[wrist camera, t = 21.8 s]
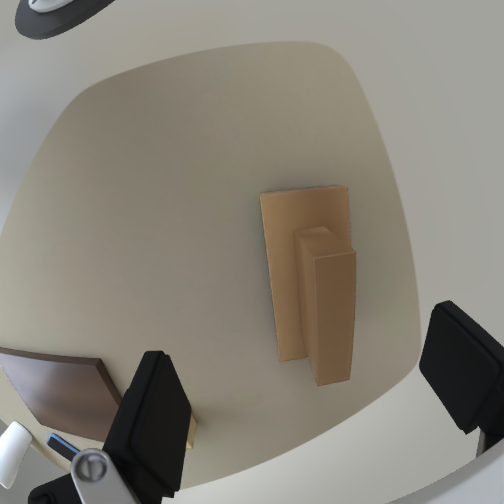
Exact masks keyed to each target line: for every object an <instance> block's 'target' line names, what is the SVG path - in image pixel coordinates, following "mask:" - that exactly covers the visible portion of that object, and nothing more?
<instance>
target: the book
mask: <svg viewBox="0 0 504 504" xmlns="http://www.w3.org/2000/svg"><path fill="white" fill-rule="evenodd" d="M0 365H1V367H2V369H3V371H4V372H5V374H6V376H7V377H8V379H9V381H10V382H11V384H12V385H13V387H14V388H15V390H16V391H17V393H18V394H19V396H20V397H21V399H22V400H23V402H24V403H25V405H26V406H27V407H28V409H29V410H30V411H31V413H32V414H33V415H34V417H35V418H36V419H37V421H38V422H39V423H40V424H41V425H44V426H47V427H50V428H53V429H56V430H59V431H62V432H65V433H69V434H72V435H76V436H80V437H83V438H87V439H92V440H96V441H100V442H105V441H106V438H107V435H108V433H109V430H110V428H111V425H112V423H113V420H114V418H115V416H116V413H117V411H118V408H119V406H120V404H121V401H122V399H121V397H120V395H119V393H118V392H117V390H116V388H115V386H114V384H113V383H112V381H111V379H110V377H109V375H108V373H107V371H106V369H105V367H104V365H103V363H102V361H101V359H97V358H80V357H68V356H57V355H48V354H39V353H32V352H25V351H18V350H12V349H6V348H1V347H0Z"/></svg>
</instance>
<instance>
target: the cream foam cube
mask: <svg viewBox="0 0 504 504" xmlns="http://www.w3.org/2000/svg"><path fill="white" fill-rule="evenodd" d="M196 426H197V423H196V421H195V419H194V417H193V415H192V414H191V420H190V426H189V432H188V438H187V444H186V449H193V444H194V438H195V432H196Z"/></svg>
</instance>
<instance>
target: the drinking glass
mask: <svg viewBox="0 0 504 504" xmlns="http://www.w3.org/2000/svg"><path fill="white" fill-rule="evenodd" d="M32 439H33V438H32V436H31V434H30V433H29V432H28V431H27V429H25V428H24V427H23V426H22V425H21V424H19V423H18V422H15V421H13V422H12V423H11V424H10V426H9V427H8V428H7V429H6V431H5V432H4V433H3V434H2V435H1V437H0V484H2V485H3V486H4V487H5V488H7V489H8V490H9V489H10V487H11V486H12V484H13V482H14V480H15V478H16V476H17V473H18V471H19V468H20V466H21V463H22V461H23V458H24V456H25V454H26V452H27V449H28V447H29V445H30V443H31V442H32Z"/></svg>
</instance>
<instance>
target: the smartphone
mask: <svg viewBox="0 0 504 504" xmlns="http://www.w3.org/2000/svg"><path fill="white" fill-rule="evenodd" d="M47 444H48V446H49V447H51V448H52V449H53V450H55V451H56V452H58V453H59V454H60V455H62V456H63V457H65V458H66V459H68V460H69V461H71V462H72V460H73V458H74V457H75V456H76V455H77V454H78V453H79V451H78V450H76V449H75V448H73V447H72V446H70V445H69V444H67V443H66V442H65V441H63V440H62V439H60V438H59V437H58V436H56V435H55V434H51V435H50V437H49V438H48V440H47Z"/></svg>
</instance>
